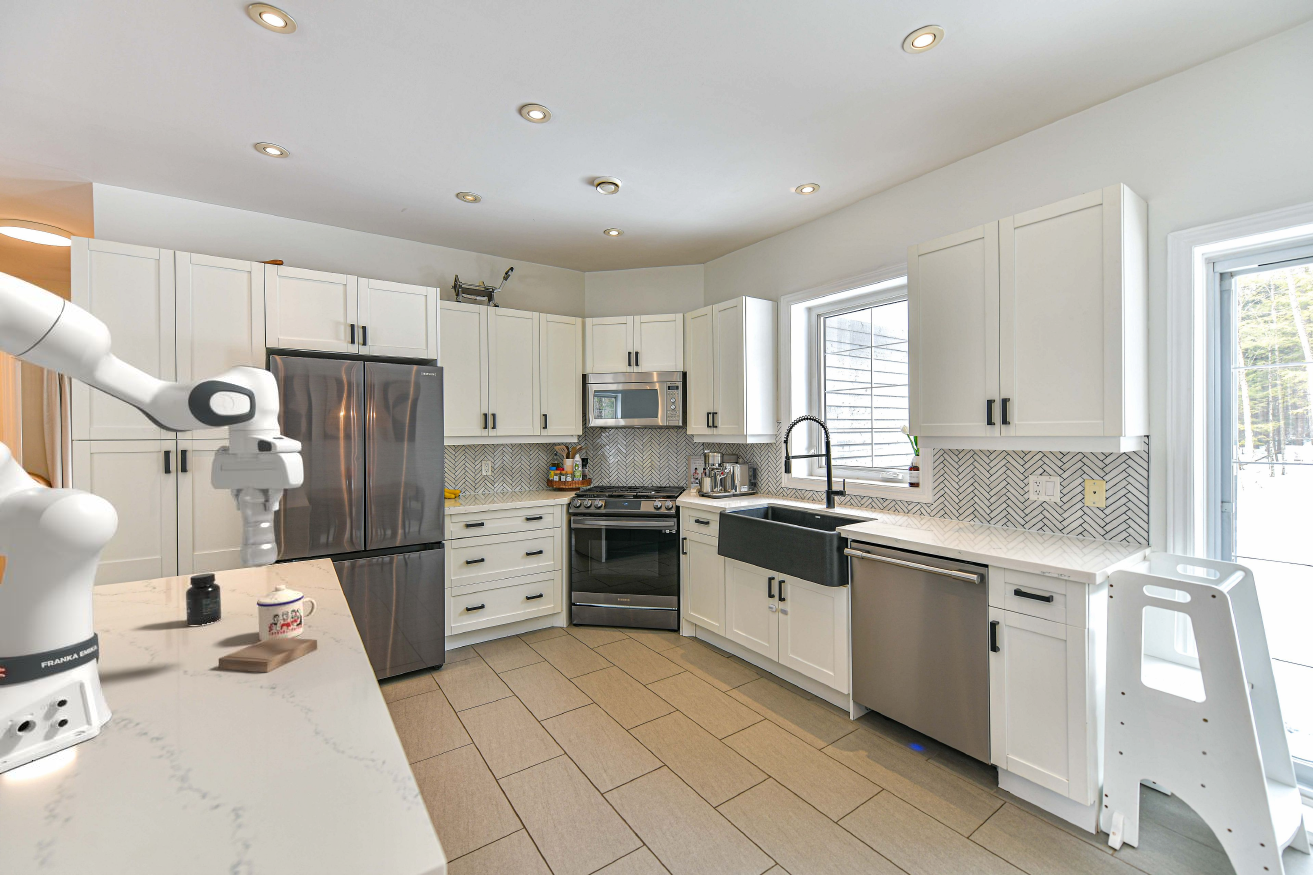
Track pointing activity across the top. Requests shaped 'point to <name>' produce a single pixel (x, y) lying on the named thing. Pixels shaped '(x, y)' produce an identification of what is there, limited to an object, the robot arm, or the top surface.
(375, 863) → the top surface
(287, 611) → the teacup with lid
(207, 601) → the supplement bottle
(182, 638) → the top surface
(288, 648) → the display stand
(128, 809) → the top surface
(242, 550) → the plastic bottle
